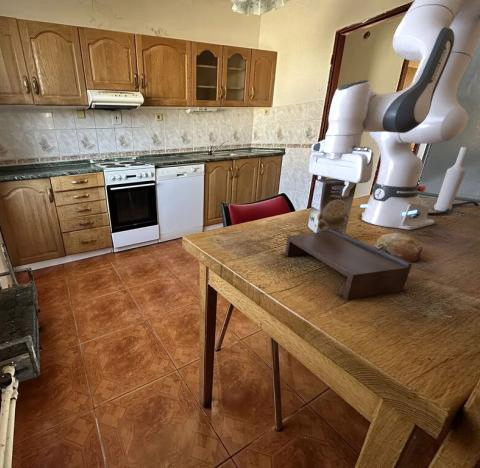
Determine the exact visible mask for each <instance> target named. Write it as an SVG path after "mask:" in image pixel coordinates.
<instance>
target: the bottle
mask: <svg viewBox="0 0 480 468" xmlns="http://www.w3.org/2000/svg"><path fill="white" fill-rule="evenodd" d="M469 149H470V147H469V146H461V147H460V150H459V152H458V155H457V158H456V161H455V163H454V164H453V166H451V167H449V168H447V169H446V172H445V176H444V179H443V181H442V185H441V188H440V190H439V194H438V197H437V199H436V200H437V201H436V202H435V204H434V205H433V209H434V210H435V211H438V212H444V211H446V209H450V210H449V212H450V211H451V210H452V209H453V206H452V204H454V201H455V199H456V196H457V194H458V192H459V189H460V186H461V184H462V181H463V179H464V177H465V175H466V173H467V169H466V168H465V167H464V161H465V159H466V156H467V153H468V152H469Z"/></svg>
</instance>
